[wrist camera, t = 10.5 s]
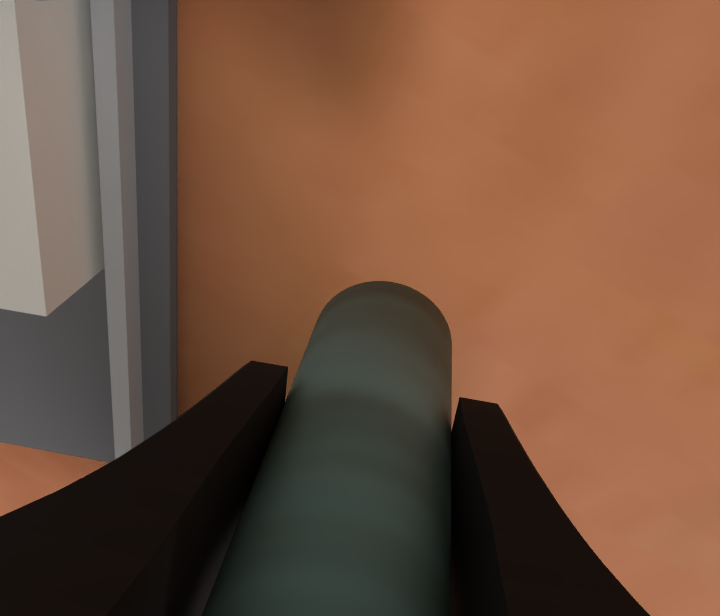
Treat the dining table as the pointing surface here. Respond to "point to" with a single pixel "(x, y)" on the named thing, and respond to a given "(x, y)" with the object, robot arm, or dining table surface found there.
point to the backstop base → (111, 265)
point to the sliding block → (47, 155)
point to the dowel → (354, 472)
